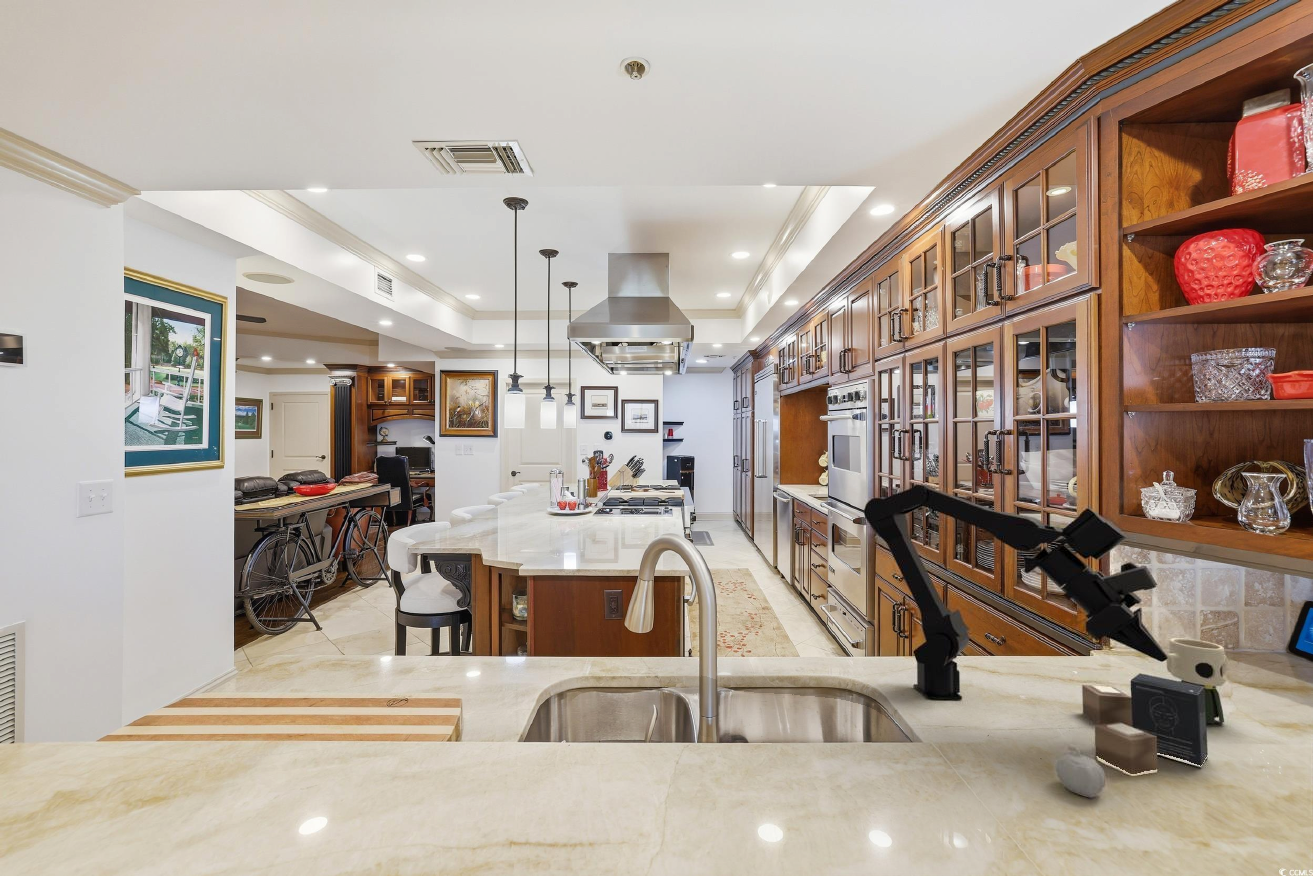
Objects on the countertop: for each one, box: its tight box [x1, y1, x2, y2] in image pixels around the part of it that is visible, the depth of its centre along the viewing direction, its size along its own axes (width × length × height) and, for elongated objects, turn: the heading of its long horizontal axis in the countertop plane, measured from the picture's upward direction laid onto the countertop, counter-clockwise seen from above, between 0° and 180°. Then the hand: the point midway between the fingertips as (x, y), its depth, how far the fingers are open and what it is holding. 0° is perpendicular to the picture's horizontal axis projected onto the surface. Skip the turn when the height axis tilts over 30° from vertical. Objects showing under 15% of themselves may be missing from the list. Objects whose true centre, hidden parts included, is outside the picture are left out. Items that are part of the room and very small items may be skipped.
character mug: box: [1165, 637, 1228, 724], centre depth 101 cm, size 11×7×13 cm, turn 94°
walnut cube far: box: [1081, 684, 1132, 727], centre depth 100 cm, size 5×5×5 cm
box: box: [1130, 672, 1209, 766], centre depth 88 cm, size 8×6×11 cm
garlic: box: [1055, 745, 1107, 798], centre depth 77 cm, size 6×5×5 cm
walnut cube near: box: [1094, 722, 1159, 774], centre depth 84 cm, size 5×5×5 cm
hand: (1165, 659), depth 89 cm, fingers closed
